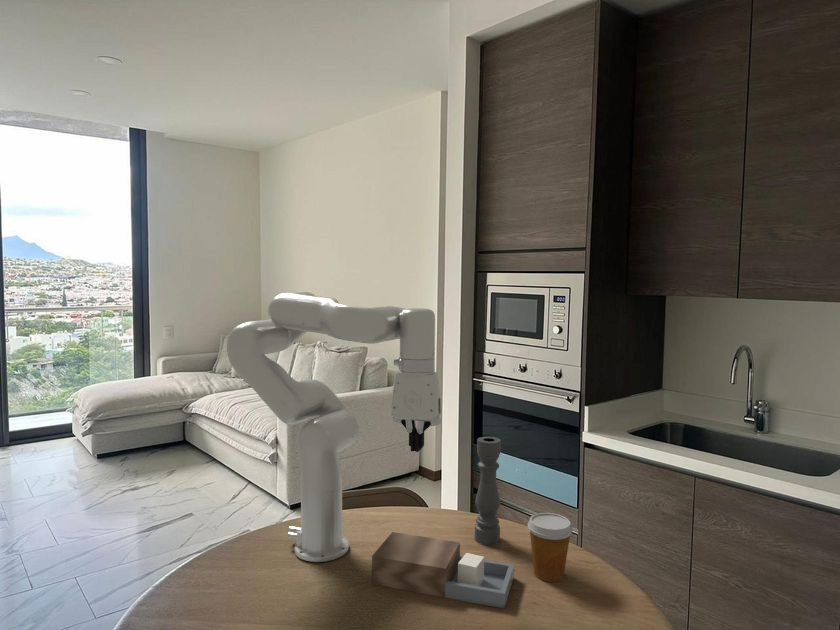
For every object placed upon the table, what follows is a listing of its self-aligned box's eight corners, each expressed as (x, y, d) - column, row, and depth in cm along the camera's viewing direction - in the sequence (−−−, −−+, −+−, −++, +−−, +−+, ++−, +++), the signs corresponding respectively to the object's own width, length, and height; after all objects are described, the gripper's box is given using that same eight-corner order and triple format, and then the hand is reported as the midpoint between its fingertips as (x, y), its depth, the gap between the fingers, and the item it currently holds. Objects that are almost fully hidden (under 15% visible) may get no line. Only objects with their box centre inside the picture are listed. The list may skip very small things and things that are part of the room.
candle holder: (499, 546, 136) (500, 444, 135) (473, 543, 137) (474, 442, 136) (500, 535, 142) (502, 437, 141) (475, 532, 143) (477, 435, 142)
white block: (457, 563, 117) (476, 567, 115) (466, 552, 122) (484, 556, 120) (457, 586, 117) (475, 591, 116) (466, 575, 122) (483, 579, 120)
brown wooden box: (371, 583, 119) (371, 556, 119) (392, 557, 130) (392, 531, 130) (445, 597, 114) (445, 568, 114) (459, 568, 126) (460, 542, 125)
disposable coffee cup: (546, 590, 117) (547, 534, 116) (517, 569, 126) (518, 516, 125) (580, 579, 121) (582, 525, 121) (551, 559, 130) (552, 508, 129)
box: (445, 597, 114) (445, 583, 114) (459, 568, 126) (459, 555, 125) (504, 608, 110) (504, 593, 110) (513, 578, 122) (514, 564, 122)
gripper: (378, 366, 120) (377, 451, 122) (446, 370, 116) (445, 458, 117) (390, 361, 127) (390, 441, 129) (455, 365, 123) (454, 448, 124)
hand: (416, 449), depth 123 cm, fingers closed
